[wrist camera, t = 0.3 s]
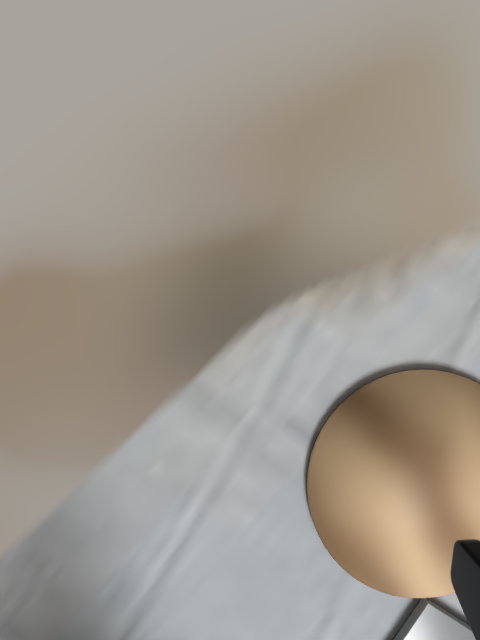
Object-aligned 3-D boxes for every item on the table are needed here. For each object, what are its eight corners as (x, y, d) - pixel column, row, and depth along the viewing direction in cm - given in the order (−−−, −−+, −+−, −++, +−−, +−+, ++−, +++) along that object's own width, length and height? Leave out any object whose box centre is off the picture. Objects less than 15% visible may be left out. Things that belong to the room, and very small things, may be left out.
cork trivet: (420, 638, 23) (423, 644, 23) (259, 488, 22) (259, 491, 22) (577, 477, 23) (583, 480, 23) (419, 321, 22) (422, 322, 22)
